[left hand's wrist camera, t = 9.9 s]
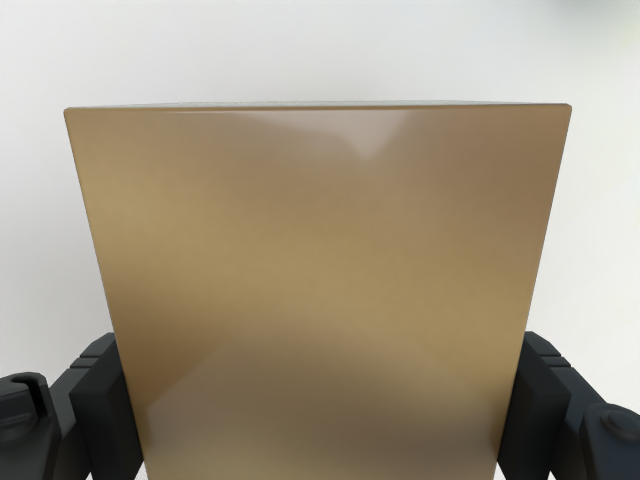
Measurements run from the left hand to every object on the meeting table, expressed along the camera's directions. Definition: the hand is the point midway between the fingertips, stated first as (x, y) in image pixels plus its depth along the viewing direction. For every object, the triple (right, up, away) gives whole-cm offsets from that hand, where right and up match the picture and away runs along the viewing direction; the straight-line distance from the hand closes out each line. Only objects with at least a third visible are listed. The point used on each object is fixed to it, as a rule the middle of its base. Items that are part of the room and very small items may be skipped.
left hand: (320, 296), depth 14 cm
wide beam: (0, -23, +10) cm, 25 cm away
